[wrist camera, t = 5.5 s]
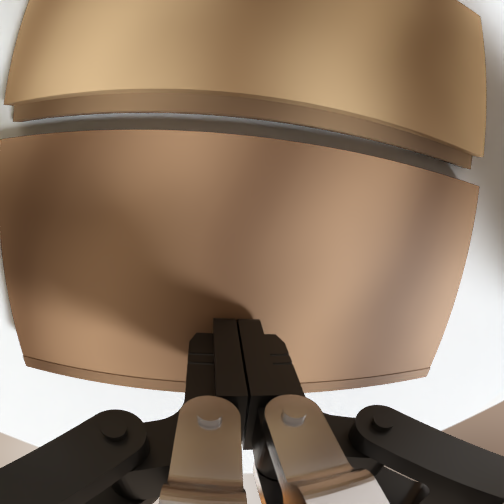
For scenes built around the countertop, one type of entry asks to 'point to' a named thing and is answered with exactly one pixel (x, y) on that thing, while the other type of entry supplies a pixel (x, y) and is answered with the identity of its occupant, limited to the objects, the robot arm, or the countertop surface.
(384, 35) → the oak board
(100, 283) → the plank
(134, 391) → the countertop surface
